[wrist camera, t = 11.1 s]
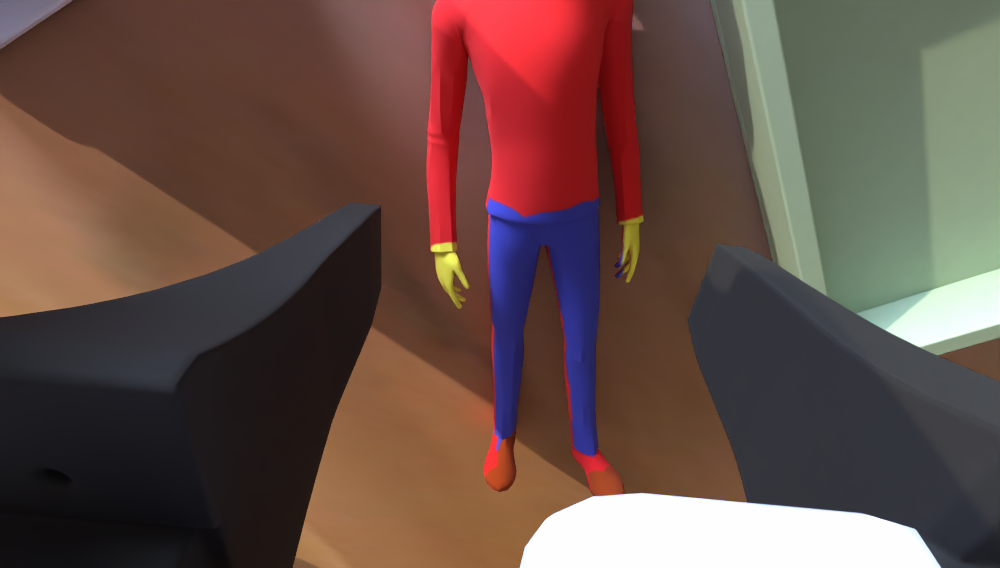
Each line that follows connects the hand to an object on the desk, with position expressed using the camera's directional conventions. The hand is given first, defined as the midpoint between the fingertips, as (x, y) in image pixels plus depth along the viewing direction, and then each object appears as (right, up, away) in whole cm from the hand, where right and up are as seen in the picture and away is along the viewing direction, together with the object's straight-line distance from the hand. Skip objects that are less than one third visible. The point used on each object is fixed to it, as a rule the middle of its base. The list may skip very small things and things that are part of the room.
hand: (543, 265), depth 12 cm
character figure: (0, +3, +4) cm, 5 cm away
